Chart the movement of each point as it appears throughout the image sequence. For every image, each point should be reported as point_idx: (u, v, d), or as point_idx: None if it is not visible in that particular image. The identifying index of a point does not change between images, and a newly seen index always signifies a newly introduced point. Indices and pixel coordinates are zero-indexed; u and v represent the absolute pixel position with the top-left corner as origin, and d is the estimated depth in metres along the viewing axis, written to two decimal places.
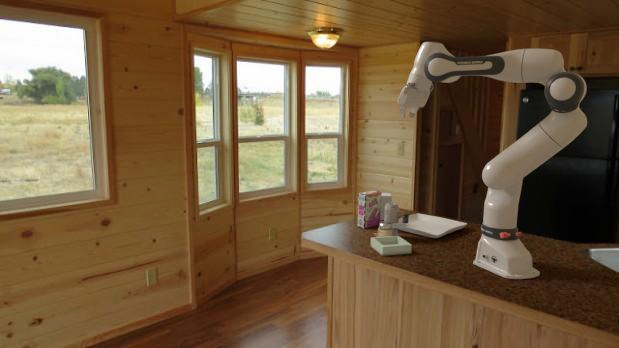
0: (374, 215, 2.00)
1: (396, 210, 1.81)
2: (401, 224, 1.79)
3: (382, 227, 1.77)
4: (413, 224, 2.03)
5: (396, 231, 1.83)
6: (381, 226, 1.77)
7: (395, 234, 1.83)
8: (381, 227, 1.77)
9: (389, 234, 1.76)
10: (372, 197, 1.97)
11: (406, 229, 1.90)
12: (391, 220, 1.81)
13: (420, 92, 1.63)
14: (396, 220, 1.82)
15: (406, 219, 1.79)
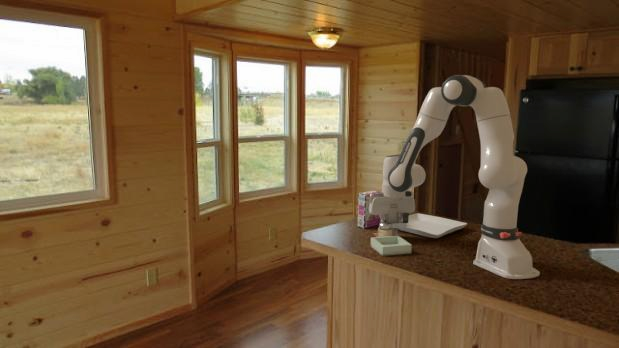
0: (374, 215, 2.00)
1: (396, 210, 1.81)
2: (401, 224, 1.79)
3: (382, 227, 1.77)
4: (413, 224, 2.03)
5: (396, 231, 1.83)
6: (381, 226, 1.77)
7: (395, 234, 1.83)
8: (381, 227, 1.77)
9: (389, 234, 1.76)
10: None
11: (406, 229, 1.90)
12: (391, 220, 1.81)
13: (391, 199, 1.80)
14: (396, 220, 1.82)
15: (406, 219, 1.79)
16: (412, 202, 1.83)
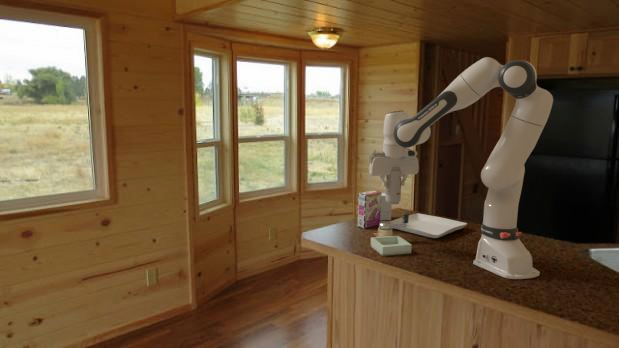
0: (374, 215, 2.00)
1: (399, 173, 1.69)
2: (401, 224, 1.79)
3: (382, 227, 1.77)
4: (413, 224, 2.03)
5: (398, 196, 1.71)
6: (381, 226, 1.77)
7: (397, 199, 1.71)
8: (381, 227, 1.77)
9: (389, 234, 1.76)
10: (372, 197, 1.97)
11: (406, 229, 1.90)
12: (393, 184, 1.69)
13: (392, 159, 1.68)
14: (399, 184, 1.70)
15: (406, 219, 1.79)
16: (415, 162, 1.70)
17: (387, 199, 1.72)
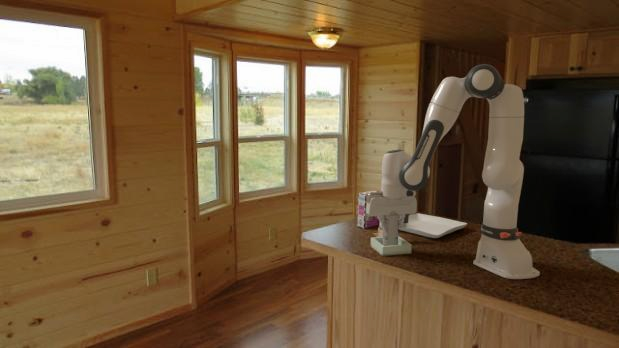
0: None
1: (396, 218, 1.65)
2: None
3: (382, 227, 1.77)
4: (413, 224, 2.02)
5: (396, 240, 1.68)
6: (381, 226, 1.77)
7: (396, 243, 1.67)
8: (381, 227, 1.77)
9: None
10: None
11: (406, 229, 1.90)
12: (391, 229, 1.66)
13: (390, 199, 1.63)
14: (396, 228, 1.66)
15: (406, 219, 1.79)
16: (414, 202, 1.66)
17: (385, 244, 1.68)
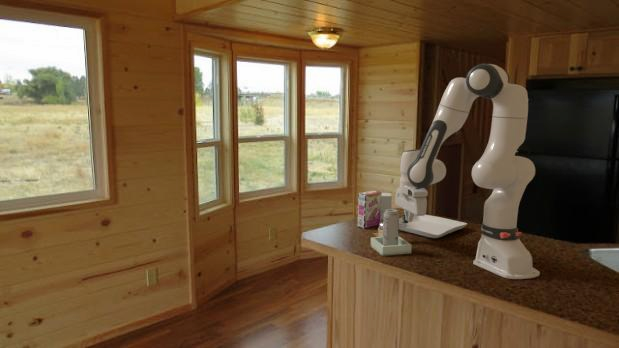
0: (374, 215, 2.00)
1: (397, 218, 1.66)
2: (401, 224, 1.79)
3: (382, 227, 1.77)
4: (413, 224, 2.02)
5: (397, 240, 1.68)
6: (381, 226, 1.77)
7: (396, 244, 1.67)
8: (381, 227, 1.77)
9: None
10: (372, 197, 1.97)
11: (406, 229, 1.90)
12: (392, 229, 1.66)
13: (402, 194, 1.76)
14: (397, 228, 1.67)
15: None
16: (415, 204, 1.66)
17: (385, 244, 1.68)
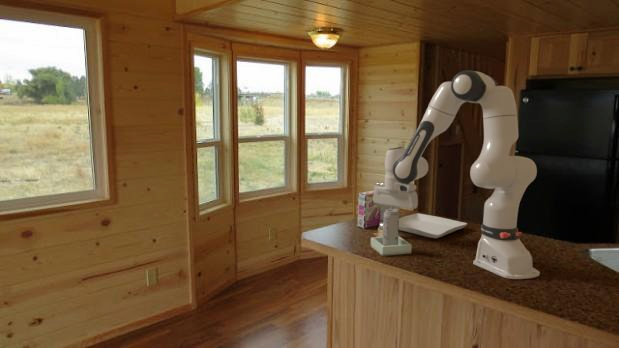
0: (374, 215, 2.00)
1: (397, 218, 1.66)
2: None
3: None
4: (413, 224, 2.02)
5: (397, 240, 1.68)
6: None
7: (396, 244, 1.67)
8: None
9: None
10: (372, 197, 1.97)
11: (406, 229, 1.90)
12: (392, 229, 1.66)
13: (388, 191, 1.83)
14: (397, 228, 1.67)
15: None
16: (410, 198, 1.76)
17: (385, 244, 1.68)
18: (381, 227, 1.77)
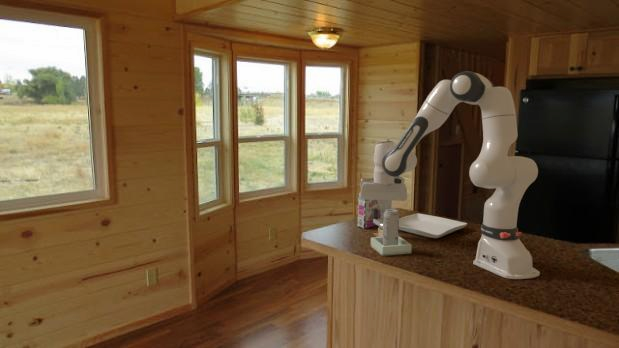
0: None
1: (397, 218, 1.66)
2: None
3: None
4: (413, 224, 2.02)
5: (397, 240, 1.68)
6: None
7: (396, 244, 1.67)
8: None
9: None
10: None
11: (406, 229, 1.90)
12: (392, 229, 1.66)
13: (379, 185, 1.82)
14: (397, 228, 1.67)
15: None
16: (403, 190, 1.81)
17: (385, 244, 1.68)
18: None
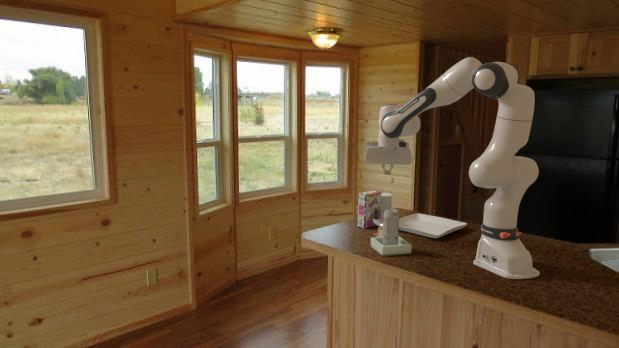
0: None
1: (397, 218, 1.66)
2: None
3: None
4: (413, 224, 2.02)
5: (397, 240, 1.68)
6: None
7: (396, 244, 1.67)
8: None
9: None
10: (372, 197, 1.97)
11: (406, 229, 1.90)
12: (392, 229, 1.66)
13: (384, 149, 1.80)
14: (397, 228, 1.67)
15: None
16: (408, 154, 1.79)
17: (385, 244, 1.68)
18: None
